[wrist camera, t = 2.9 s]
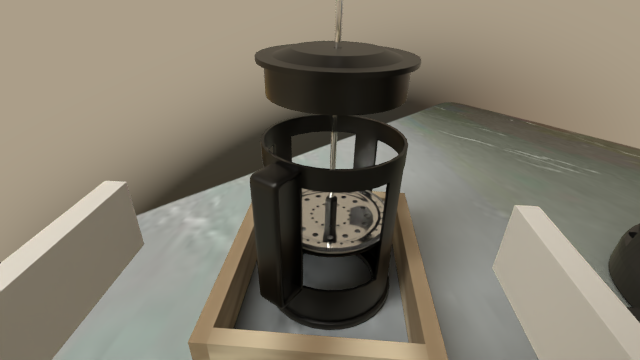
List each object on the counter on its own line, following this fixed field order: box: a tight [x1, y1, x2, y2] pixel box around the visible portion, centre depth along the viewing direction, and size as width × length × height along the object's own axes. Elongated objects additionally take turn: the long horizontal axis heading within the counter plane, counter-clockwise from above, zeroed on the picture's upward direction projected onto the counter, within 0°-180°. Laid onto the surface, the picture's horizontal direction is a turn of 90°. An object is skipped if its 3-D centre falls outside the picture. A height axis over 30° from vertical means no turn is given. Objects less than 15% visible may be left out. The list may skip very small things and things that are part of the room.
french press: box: [250, 0, 421, 330], centre depth 21 cm, size 12×9×23 cm
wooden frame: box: [188, 191, 448, 360], centre depth 26 cm, size 14×17×4 cm
